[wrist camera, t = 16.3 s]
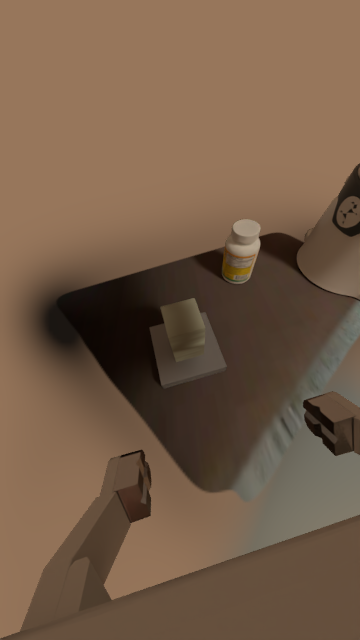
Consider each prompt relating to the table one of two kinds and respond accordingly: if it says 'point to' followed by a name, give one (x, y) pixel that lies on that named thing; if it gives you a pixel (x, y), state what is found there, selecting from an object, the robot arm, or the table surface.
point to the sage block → (184, 329)
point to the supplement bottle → (241, 251)
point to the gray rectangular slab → (188, 368)
